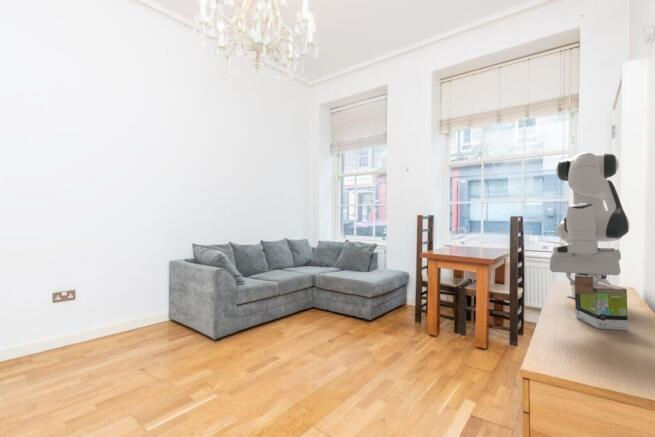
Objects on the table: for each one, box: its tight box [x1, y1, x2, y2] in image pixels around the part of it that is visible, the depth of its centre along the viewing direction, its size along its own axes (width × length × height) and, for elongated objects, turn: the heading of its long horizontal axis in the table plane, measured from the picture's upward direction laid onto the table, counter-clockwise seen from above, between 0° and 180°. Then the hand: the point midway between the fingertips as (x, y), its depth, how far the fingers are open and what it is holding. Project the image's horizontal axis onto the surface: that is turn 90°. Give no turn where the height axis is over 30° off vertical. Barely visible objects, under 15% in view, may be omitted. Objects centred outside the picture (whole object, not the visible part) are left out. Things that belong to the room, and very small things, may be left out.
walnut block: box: [574, 274, 593, 295], centre depth 119 cm, size 5×5×6 cm
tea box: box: [574, 282, 629, 331], centre depth 124 cm, size 15×10×15 cm
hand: (583, 285), depth 119 cm, fingers closed on walnut block, 5 cm apart
